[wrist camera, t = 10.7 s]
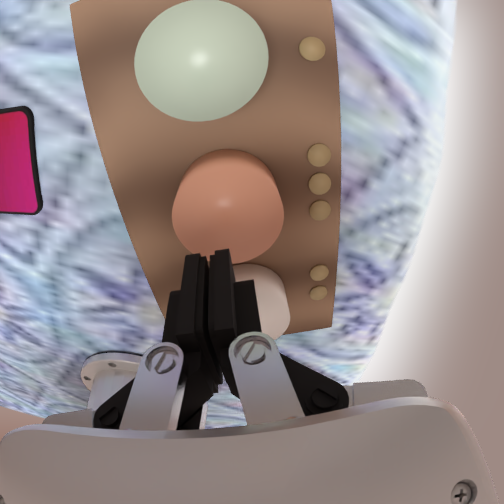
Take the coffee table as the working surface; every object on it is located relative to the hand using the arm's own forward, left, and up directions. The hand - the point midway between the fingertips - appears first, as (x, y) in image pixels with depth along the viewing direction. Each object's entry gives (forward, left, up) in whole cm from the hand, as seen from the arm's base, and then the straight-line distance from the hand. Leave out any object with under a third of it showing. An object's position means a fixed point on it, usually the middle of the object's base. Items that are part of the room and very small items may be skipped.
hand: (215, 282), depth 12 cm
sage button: (+8, -1, -5) cm, 10 cm away
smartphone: (+7, +18, -8) cm, 21 cm away
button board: (+1, -1, -7) cm, 8 cm away
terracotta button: (+1, -1, -5) cm, 5 cm away
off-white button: (-6, -1, -5) cm, 8 cm away
